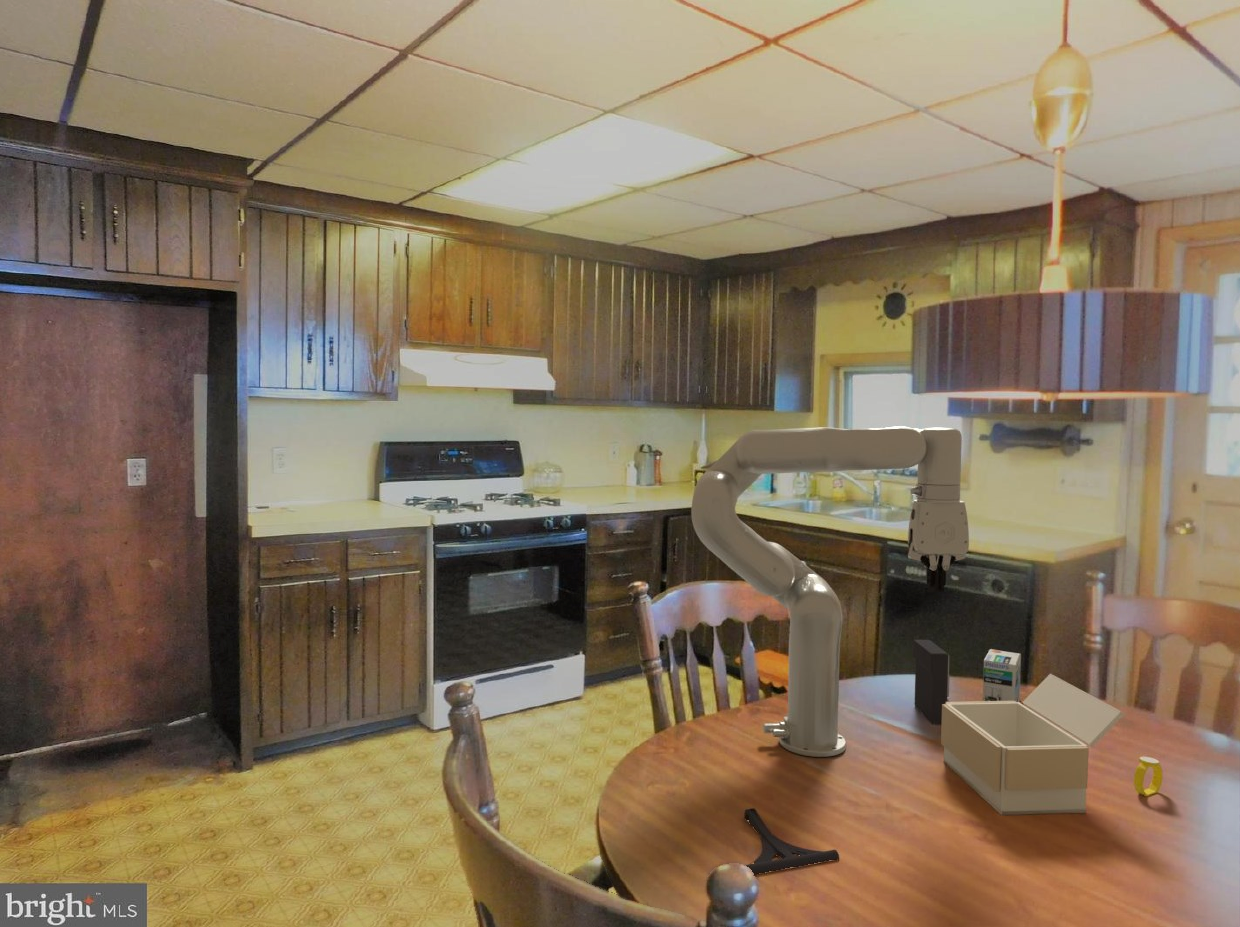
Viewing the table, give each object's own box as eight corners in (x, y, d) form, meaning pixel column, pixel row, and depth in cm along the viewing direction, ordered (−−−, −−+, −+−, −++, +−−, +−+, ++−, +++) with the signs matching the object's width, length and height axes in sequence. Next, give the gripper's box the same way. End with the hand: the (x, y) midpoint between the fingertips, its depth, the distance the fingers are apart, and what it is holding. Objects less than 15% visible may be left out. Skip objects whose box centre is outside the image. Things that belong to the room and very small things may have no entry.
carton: (999, 817, 128) (1001, 750, 127) (937, 760, 150) (939, 702, 149) (1088, 815, 129) (1091, 748, 128) (1014, 758, 150) (1016, 700, 150)
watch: (1148, 788, 139) (1151, 754, 139) (1165, 795, 137) (1168, 760, 137) (1128, 793, 136) (1131, 758, 136) (1145, 800, 134) (1148, 764, 134)
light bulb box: (1015, 714, 173) (1017, 665, 172) (981, 708, 177) (982, 660, 176) (1020, 699, 182) (1021, 652, 182) (987, 694, 186) (989, 648, 185)
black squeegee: (788, 815, 130) (788, 798, 130) (839, 864, 116) (839, 845, 116) (705, 829, 126) (705, 812, 125) (748, 881, 111) (748, 862, 111)
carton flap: (1121, 711, 130) (1124, 714, 130) (1050, 673, 149) (1053, 676, 149) (1089, 744, 130) (1092, 747, 130) (1022, 702, 149) (1025, 705, 149)
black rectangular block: (950, 725, 167) (952, 653, 166) (929, 724, 167) (931, 653, 166) (931, 706, 178) (932, 639, 177) (911, 705, 178) (913, 639, 177)
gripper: (908, 495, 147) (905, 594, 148) (987, 495, 148) (984, 594, 149) (891, 491, 154) (889, 586, 155) (967, 491, 155) (964, 585, 156)
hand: (935, 589), depth 152 cm, fingers closed
